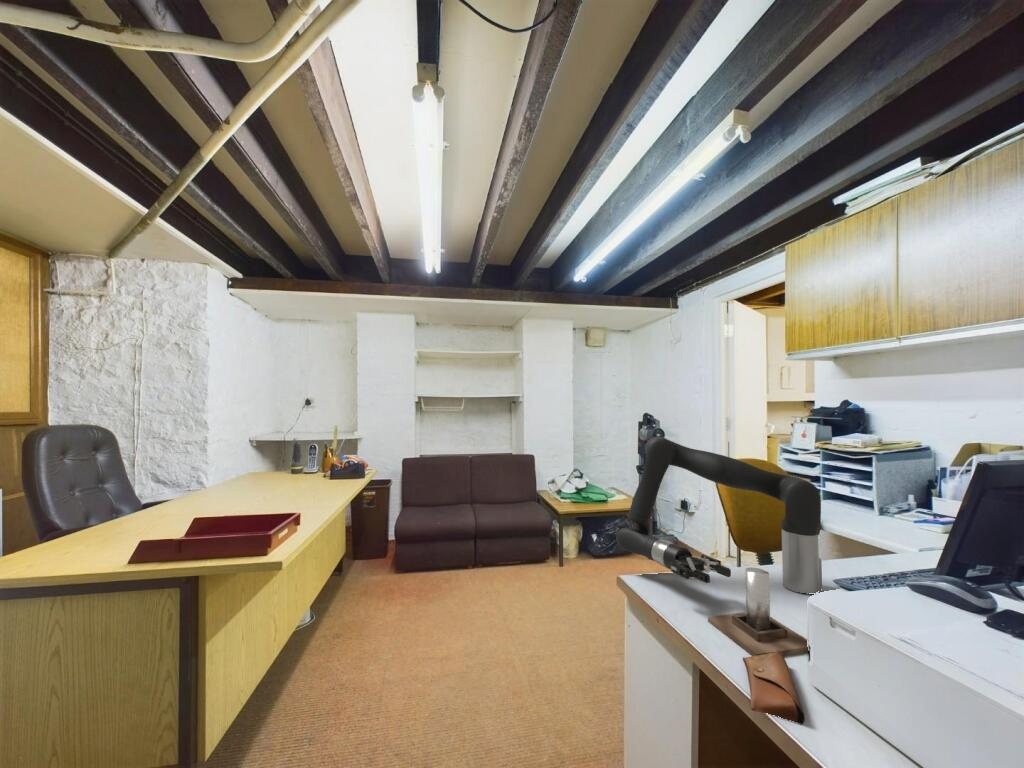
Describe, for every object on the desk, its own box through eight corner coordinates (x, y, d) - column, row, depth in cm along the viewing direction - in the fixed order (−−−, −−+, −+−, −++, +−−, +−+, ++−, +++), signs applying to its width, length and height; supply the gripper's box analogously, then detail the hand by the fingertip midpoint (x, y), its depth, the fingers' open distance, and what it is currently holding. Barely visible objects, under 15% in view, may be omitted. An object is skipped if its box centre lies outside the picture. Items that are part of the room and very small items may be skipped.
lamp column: (758, 623, 102) (757, 566, 103) (775, 634, 97) (774, 575, 98) (741, 625, 101) (740, 568, 102) (757, 637, 96) (756, 576, 97)
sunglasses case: (739, 654, 91) (756, 632, 90) (771, 679, 88) (789, 655, 87) (750, 711, 75) (771, 684, 73) (790, 742, 72) (812, 715, 71)
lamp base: (760, 615, 108) (760, 603, 109) (816, 651, 93) (816, 637, 93) (707, 621, 105) (707, 609, 105) (757, 659, 89) (756, 645, 90)
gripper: (653, 546, 120) (701, 566, 105) (687, 539, 126) (736, 557, 112) (653, 572, 120) (702, 596, 105) (687, 564, 126) (737, 585, 112)
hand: (719, 576), depth 109 cm, fingers open, 8 cm apart
